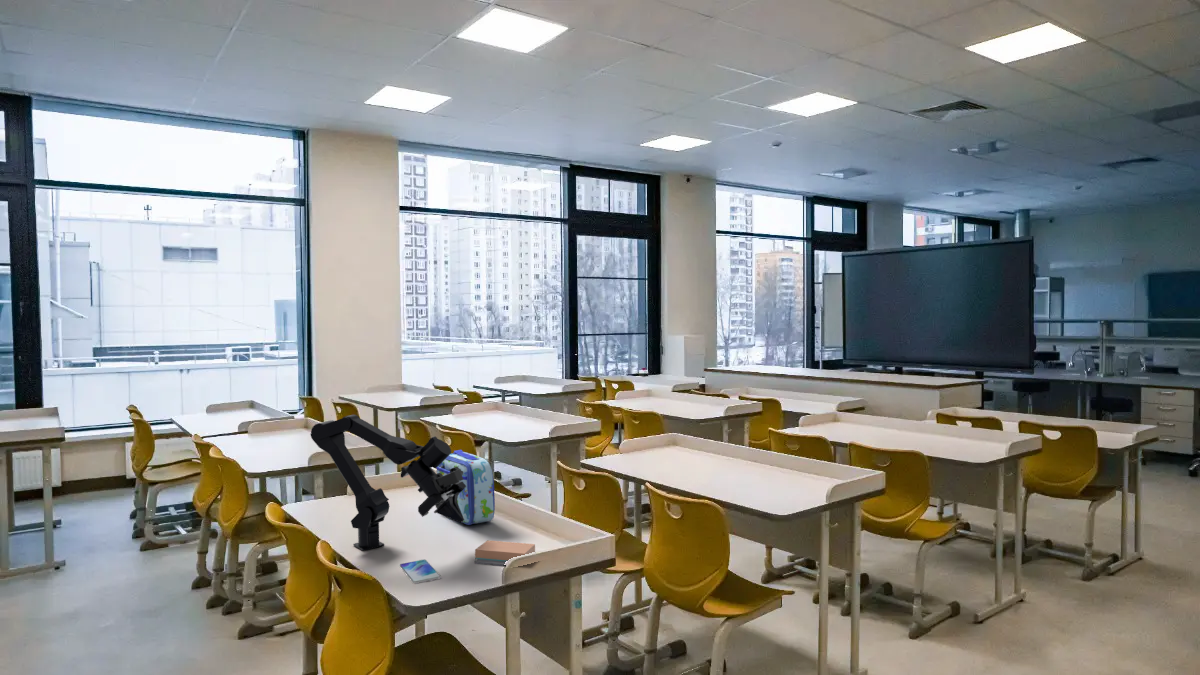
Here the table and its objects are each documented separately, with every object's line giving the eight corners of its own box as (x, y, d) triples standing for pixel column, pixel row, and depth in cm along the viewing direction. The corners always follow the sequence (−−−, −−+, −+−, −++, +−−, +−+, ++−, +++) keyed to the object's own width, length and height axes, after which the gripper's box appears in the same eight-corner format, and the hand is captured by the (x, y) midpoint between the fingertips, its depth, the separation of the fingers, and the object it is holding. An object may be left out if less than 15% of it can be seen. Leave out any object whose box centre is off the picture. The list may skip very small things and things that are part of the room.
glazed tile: (475, 549, 197) (524, 553, 193) (487, 540, 204) (535, 544, 201) (475, 558, 197) (524, 563, 193) (487, 549, 204) (535, 553, 201)
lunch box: (433, 511, 245) (432, 449, 244) (463, 506, 251) (462, 445, 250) (466, 531, 223) (465, 462, 222) (498, 525, 229) (497, 458, 228)
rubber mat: (474, 563, 195) (474, 561, 195) (492, 548, 206) (492, 547, 206) (510, 566, 192) (510, 564, 192) (526, 551, 204) (526, 549, 204)
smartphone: (413, 582, 180) (398, 564, 193) (413, 586, 180) (398, 567, 193) (442, 576, 184) (425, 558, 197) (442, 580, 184) (425, 562, 197)
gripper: (428, 466, 193) (467, 511, 191) (459, 452, 211) (495, 494, 209) (401, 493, 195) (439, 538, 193) (434, 478, 214) (469, 519, 211)
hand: (462, 521), depth 202 cm, fingers closed
